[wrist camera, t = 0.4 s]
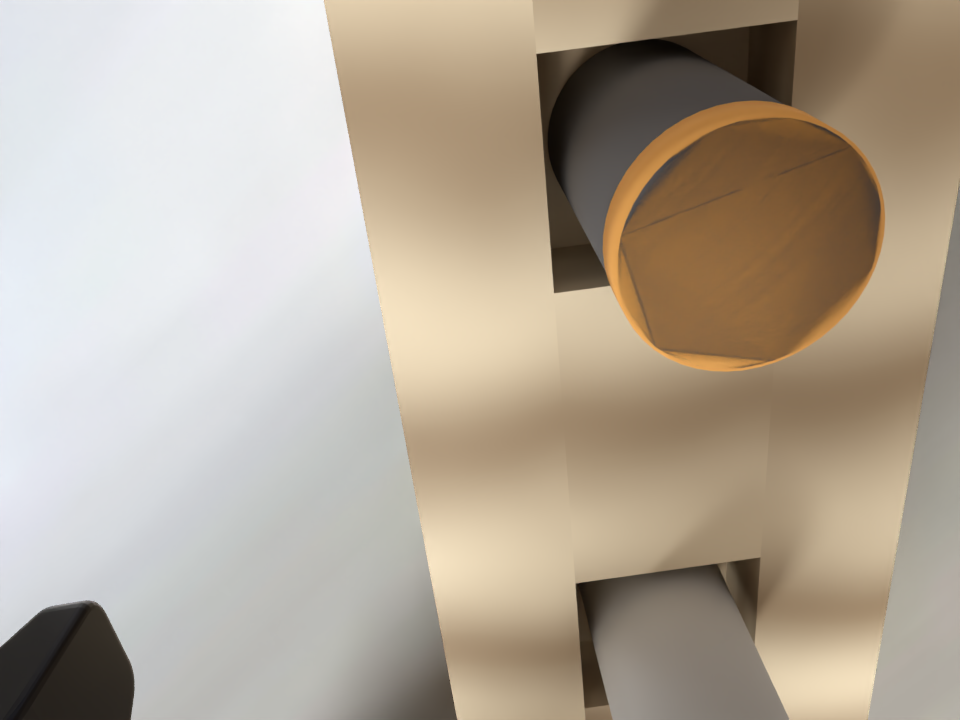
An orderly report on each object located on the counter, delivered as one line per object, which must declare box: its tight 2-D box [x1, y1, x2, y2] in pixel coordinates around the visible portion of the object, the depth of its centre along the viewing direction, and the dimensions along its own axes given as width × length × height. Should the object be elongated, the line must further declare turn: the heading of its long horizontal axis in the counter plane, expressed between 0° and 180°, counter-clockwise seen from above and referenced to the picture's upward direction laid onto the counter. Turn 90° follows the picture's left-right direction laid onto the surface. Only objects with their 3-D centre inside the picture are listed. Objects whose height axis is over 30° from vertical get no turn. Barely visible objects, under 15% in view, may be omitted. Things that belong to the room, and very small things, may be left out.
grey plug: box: [579, 564, 790, 720], centre depth 22 cm, size 4×4×7 cm
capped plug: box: [548, 39, 885, 372], centre depth 16 cm, size 4×4×7 cm
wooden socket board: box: [324, 0, 960, 720], centre depth 21 cm, size 24×12×3 cm, turn 6°
